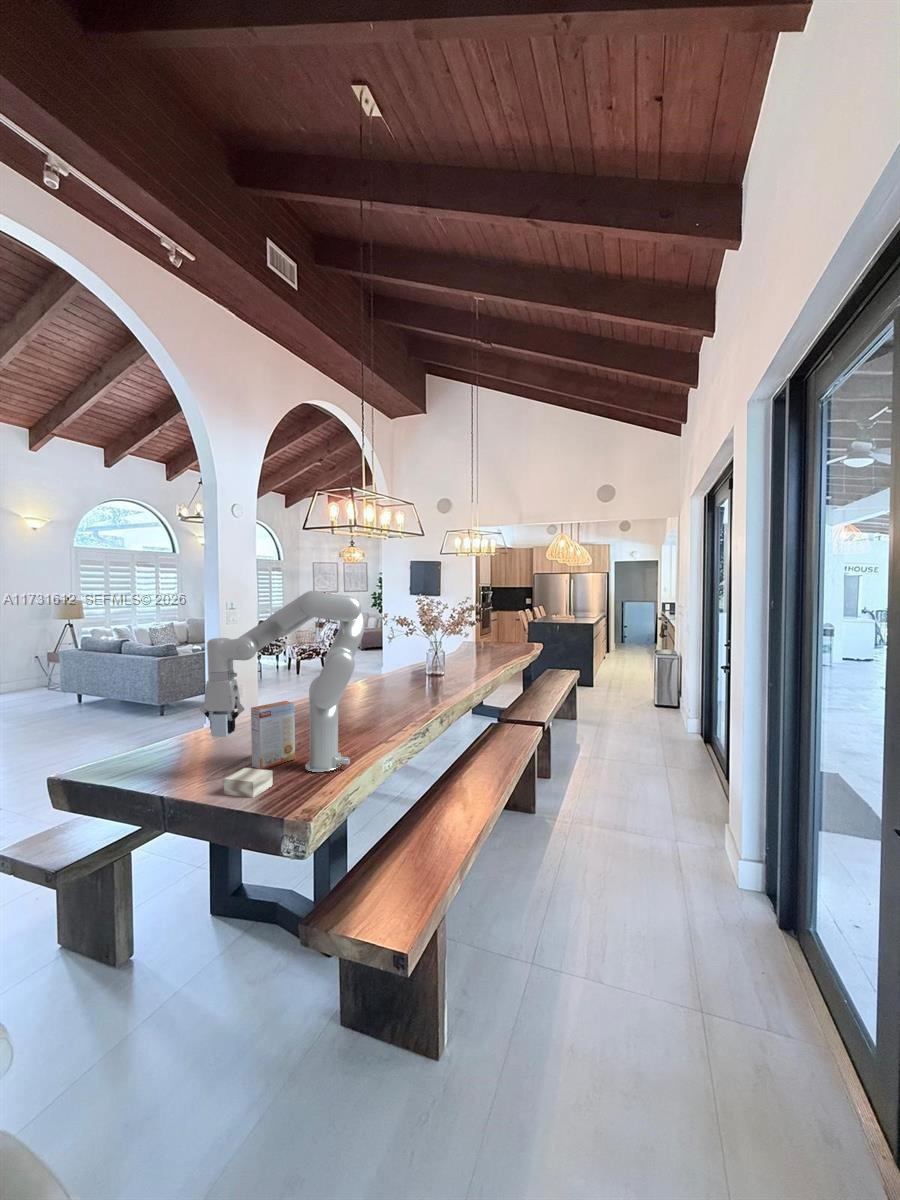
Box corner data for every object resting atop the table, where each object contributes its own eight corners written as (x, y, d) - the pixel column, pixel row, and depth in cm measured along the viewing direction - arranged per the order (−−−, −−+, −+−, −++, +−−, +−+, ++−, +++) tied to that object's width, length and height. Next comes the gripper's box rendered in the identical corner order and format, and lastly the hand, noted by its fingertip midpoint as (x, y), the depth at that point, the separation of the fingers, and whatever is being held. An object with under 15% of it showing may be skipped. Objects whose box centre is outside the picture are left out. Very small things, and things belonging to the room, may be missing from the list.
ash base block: (272, 786, 168) (272, 770, 167) (253, 798, 158) (253, 781, 158) (244, 783, 170) (244, 767, 170) (224, 795, 160) (223, 778, 160)
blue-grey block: (234, 732, 176) (233, 711, 176) (226, 736, 171) (225, 715, 171) (219, 732, 177) (219, 711, 177) (211, 736, 172) (210, 715, 172)
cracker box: (285, 757, 195) (285, 700, 195) (295, 760, 192) (295, 702, 191) (250, 766, 185) (250, 706, 184) (260, 770, 181) (259, 709, 180)
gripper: (251, 674, 176) (253, 729, 177) (202, 674, 178) (204, 728, 179) (240, 678, 169) (242, 735, 170) (189, 678, 171) (191, 735, 171)
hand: (222, 731), depth 174 cm, fingers closed on blue-grey block, 5 cm apart
